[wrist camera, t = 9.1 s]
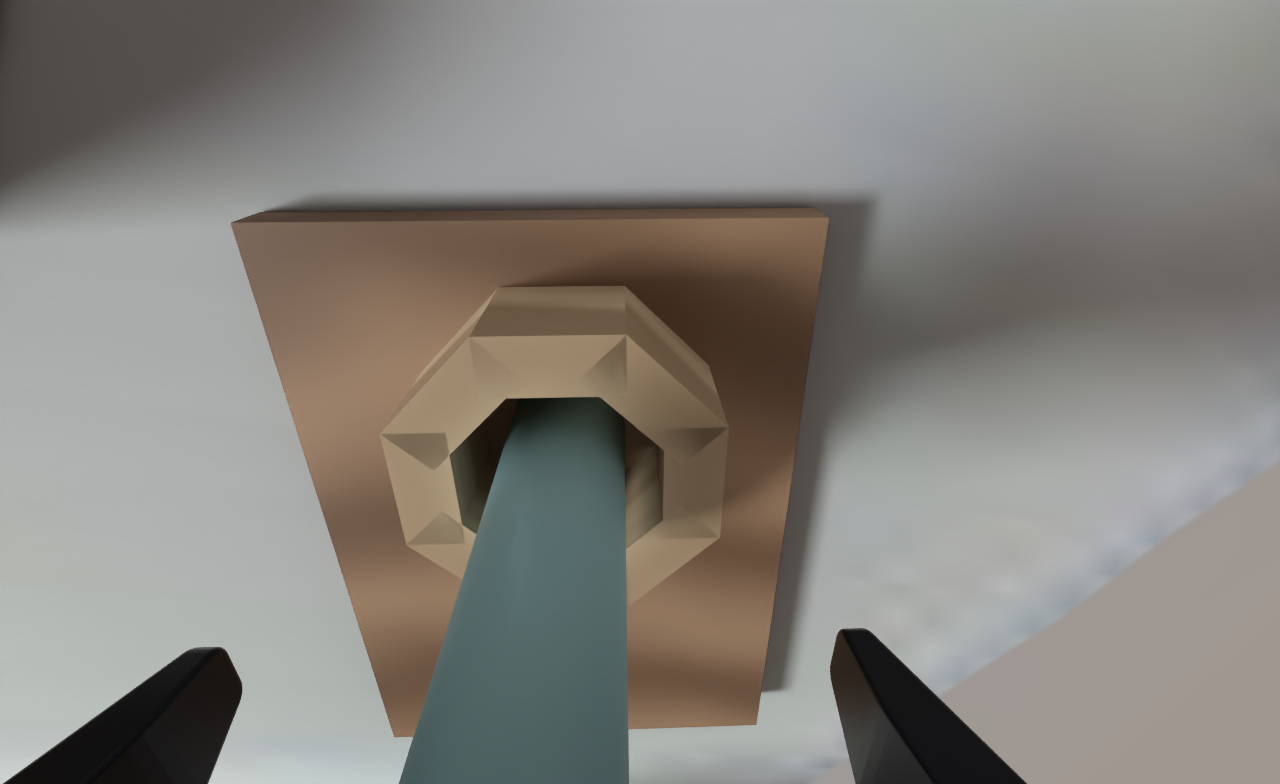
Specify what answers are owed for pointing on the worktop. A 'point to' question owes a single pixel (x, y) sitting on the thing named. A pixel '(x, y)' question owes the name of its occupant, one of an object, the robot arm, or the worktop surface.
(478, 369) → the bead
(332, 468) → the board
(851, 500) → the worktop surface
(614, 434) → the dowel
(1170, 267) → the worktop surface
